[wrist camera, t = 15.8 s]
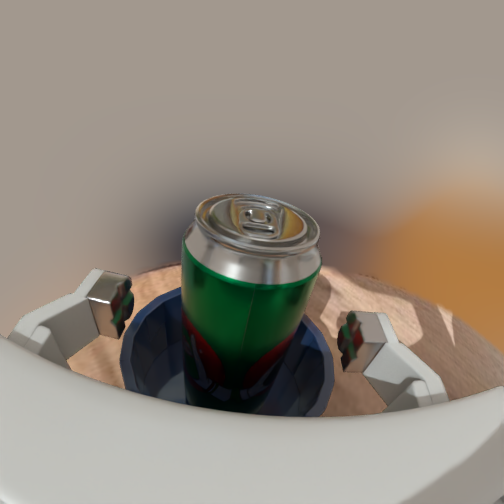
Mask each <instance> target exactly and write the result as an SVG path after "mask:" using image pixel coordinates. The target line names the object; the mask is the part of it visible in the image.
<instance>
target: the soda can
mask: <svg viewBox="0 0 504 504" xmlns="http://www.w3.org/2000/svg"><path fill="white" fill-rule="evenodd" d="M319 239H320V229H319V226H318V225H317V223H316V222H315V221H314V219H313V218H312V217H310V216H309V215H308V214H307V213H305V212H303V211H302V210H300V209H298V208H296V207H294V206H292V205H290V204H288V203H285V202H282V201H279V200H276V199H272V198H269V197H264V196H259V195H251V194H225V195H218V196H214V197H211V198H208V199H206V200H204V201H202V202H201V203H200V204H199V205H198V207H197V208H196V211H195V220H194V221H193V223H192V224H191V225H190V226H189V227H188V228H187V230H186V232H185V233H184V236H183V239H182V273H181V317H182V352H183V372H184V388H185V395H186V398H187V400H188V402H189V404H190V405H191V406H196V407H201V408H207V409H213V410H220V411H227V412H235V413H244V414H255V415H256V414H257V413H258V412H259V411H260V409H261V408H262V406H263V404H264V402H265V400H266V398H267V396H268V394H269V392H270V390H271V388H272V386H273V383H274V381H275V379H276V377H277V375H278V373H279V370H280V368H281V366H282V364H283V361H284V359H285V357H286V355H287V352H288V350H289V348H290V345H291V343H292V341H293V338H294V336H295V333H296V331H297V329H298V326H299V324H300V321H301V319H302V316H303V314H304V311H305V309H306V306H307V304H308V301H309V298H310V296H311V293H312V291H313V288H314V285H315V283H316V280H317V277H318V274H319V272H320V269H321V266H322V257H321V254H320V250H319V247H318V244H317V243H318V241H319Z"/></svg>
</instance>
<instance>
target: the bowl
mask: <svg viewBox="0 0 504 504" xmlns="http://www.w3.org/2000/svg"><path fill="white" fill-rule="evenodd" d="M119 361H120V362H119V363H120V368H121V372H122V377H123V381H124V385H125V389H126V390H129V391H132V392H135V393H139V394H143V395H146V396H150V397H154V398H158V399H162V400H166V401H171V402H175V403H180V404H185V405H190V404H189V402H188V400H187V398H186V395H185V388H184V372H183V352H182V317H181V287H179V288H177V289H174V290H172V291H169V292H167V293H165V294H162V295H160V296H158V297H156V298H155V299H154V300H153V301H151V302H150V303H149V304H148V305H146V306H145V307H144V308H143V309H141V310H140V311H139V312H138V313H137V314H136V316H135V317H134V319H133V321H132V322H131V324H130V325H129V327H128V329H127V330H126V332H125V333H124V337H123V342H122V348H121V354H120V360H119ZM334 382H335V379H334V365H333V357H332V354H331V351H330V349H329V347H328V345H327V343H326V340H325V338H324V336H323V334H322V332H321V331H320V330H319V329H318V328H317V327H316V326H315V324H314V323H313V322H312V321H311V320H310V319H309V318H308V316H307V315H305V313H304V314H303V316H302V319H301V321H300V324H299V326H298V329H297V331H296V333H295V336H294V338H293V341H292V343H291V345H290V348H289V350H288V352H287V355H286V357H285V359H284V361H283V364H282V366H281V368H280V370H279V373H278V375H277V377H276V379H275V381H274V383H273V386H272V388H271V390H270V392H269V394H268V396H267V398H266V400H265V402H264V404H263V406H262V408H261V409H260V411H259V412H258V413H257V414H256V415H267V416H284V417H320V416H321V414H322V413H323V412H324V411H325V409H326V407H327V404H328V401H329V398H330V395H331V392H332V389H333V386H334ZM190 406H191V405H190Z"/></svg>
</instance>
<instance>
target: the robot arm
mask: <svg viewBox="0 0 504 504" xmlns="http://www.w3.org/2000/svg"><path fill="white" fill-rule="evenodd" d="M131 286H132V281H131V278H130V277H129V276H126V275H122V274H118V273H114V272H110V271H104V270H101V269H97V268H95V269H93V270H92V271H91V272H90V273H89V275H88V276H87V277H86V278H85V280H84V281H83V282H82V283H81V285H80V286H79V287H78V289H77V290H76V291H75V292H74V294H71V293H70V294H67V295H66V296H63V297H61V298H59V299H57V300H55V301H53V302H51V303H49V304H46V305H45V306H42V307H40V308H38V309H36V310H34V311H32V312H30V313H28V314H26V315H24V316H23V317H22V318H21V320H20V321H19V322H18V324H17V325H16V326H15V328H14V329H13V331H12V332H11V333H10V335H9V336H8V338H6V337H4V336H2V335H1V334H0V504H504V386H498V387H495V388H492V389H489V390H486V391H483V392H480V393H477V394H474V395H470V396H467V397H463V398H460V399H456V400H452V401H450V400H449V398H448V395H447V392H446V390H445V387H444V385H443V382H442V380H441V377H440V376H439V375H438V374H437V373H435V372H434V371H433V370H432V369H431V368H430V367H429V366H428V365H427V364H425V363H424V362H423V361H422V360H421V359H420V358H419V357H418V356H416V355H415V354H414V353H413V352H412V351H411V350H410V349H409V348H407V347H406V346H405V345H404V344H403V343H399V341H398V338H397V336H396V334H395V331H394V329H393V327H392V324H391V322H390V320H389V318H388V315H387V314H385V313H378V312H374V313H373V312H362V311H350V312H349V313H348V315H347V317H346V320H347V323H346V324H344V325H343V326H341V328H340V330H339V333H338V338H337V345H338V349H339V350H340V351H341V352H342V353H343V355H342V357H341V363H342V367H343V372H352V373H363V375H364V376H365V378H366V379H367V380H368V381H369V383H370V384H371V385H372V387H373V388H374V389H375V390H376V392H377V393H378V394H379V395H380V397H381V398H382V399H383V401H384V402H385V403H386V404H387V406H388V407H387V408H385V409H384V410H383V411H382V412H381V413H379V414H369V415H357V416H340V417H284V416H267V415H255V414H244V413H235V412H227V411H220V410H213V409H207V408H201V407H196V406H190V405H185V404H180V403H175V402H171V401H166V400H162V399H158V398H154V397H150V396H146V395H143V394H139V393H135V392H132V391H129V390H125V389H122V388H119V387H116V386H113V385H110V384H107V383H104V382H101V381H98V380H95V379H93V378H90V377H87V376H85V375H82V374H79V373H77V372H74V371H72V370H71V368H70V366H69V364H68V363H67V361H66V360H67V359H69V358H70V357H71V356H73V355H74V354H75V353H77V352H78V351H79V350H81V349H82V348H83V347H85V346H86V345H87V344H89V343H90V342H91V341H93V340H94V339H96V338H97V337H98V336H99V334H100V335H103V336H107V337H111V338H115V339H120V337H121V335H122V333H123V331H124V329H125V323H124V321H126V320H127V319H129V318H130V316H131V314H132V312H133V307H134V294H133V293H132V292H131V291H130V288H131Z"/></svg>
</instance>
